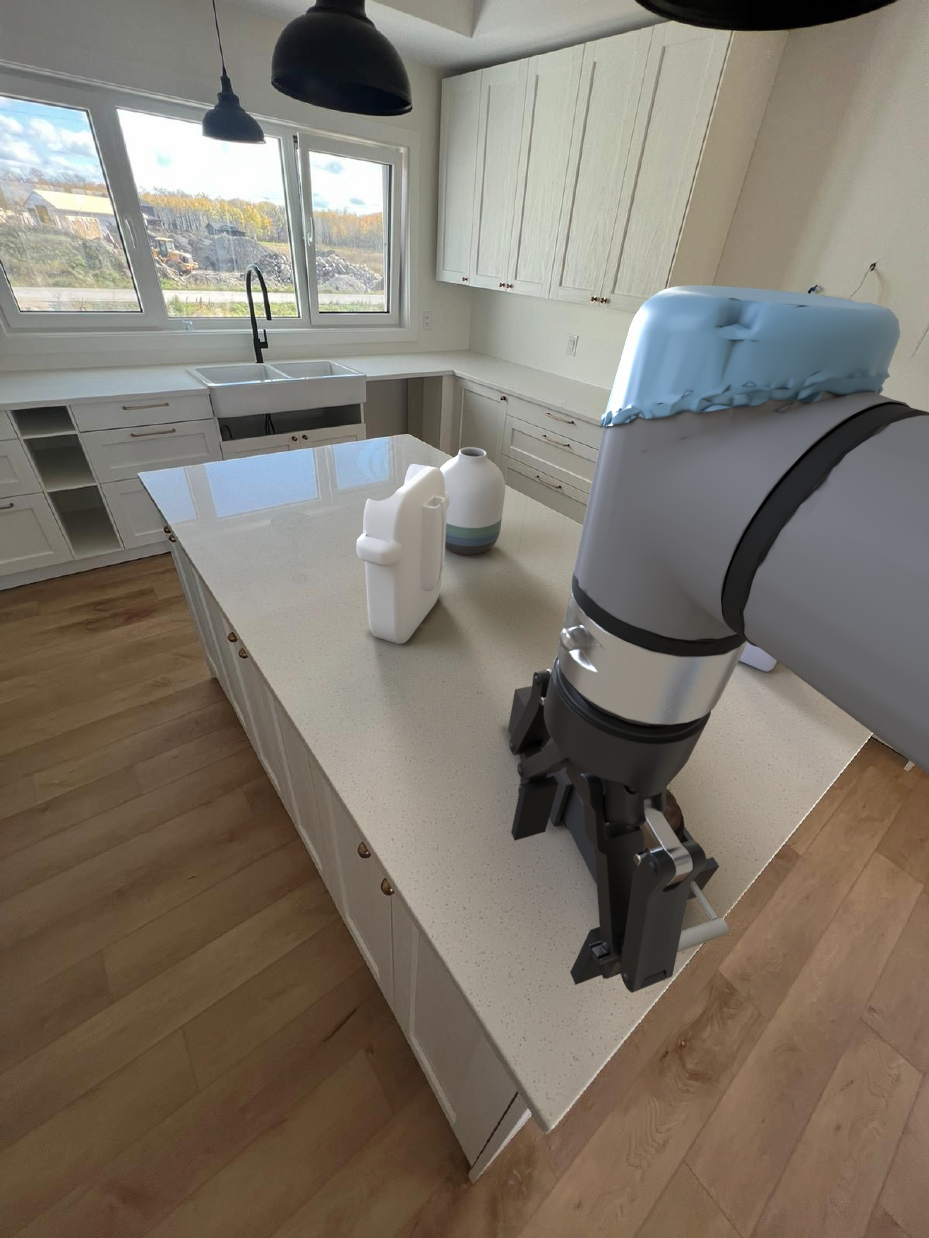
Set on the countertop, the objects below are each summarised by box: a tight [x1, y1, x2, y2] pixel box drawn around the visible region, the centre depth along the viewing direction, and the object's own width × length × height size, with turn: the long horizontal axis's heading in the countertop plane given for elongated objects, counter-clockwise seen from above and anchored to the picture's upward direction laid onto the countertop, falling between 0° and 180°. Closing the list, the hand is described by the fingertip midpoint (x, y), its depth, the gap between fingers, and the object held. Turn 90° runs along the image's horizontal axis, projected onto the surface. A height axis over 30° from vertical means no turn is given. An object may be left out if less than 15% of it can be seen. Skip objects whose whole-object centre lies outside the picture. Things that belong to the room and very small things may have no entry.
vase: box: [439, 446, 506, 555], centre depth 125 cm, size 17×17×24 cm
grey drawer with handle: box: [562, 786, 730, 954], centre depth 64 cm, size 22×12×8 cm, turn 18°
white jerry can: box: [355, 463, 449, 645], centre depth 98 cm, size 27×11×30 cm, turn 160°
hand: (556, 894), depth 38 cm, fingers open, 10 cm apart
